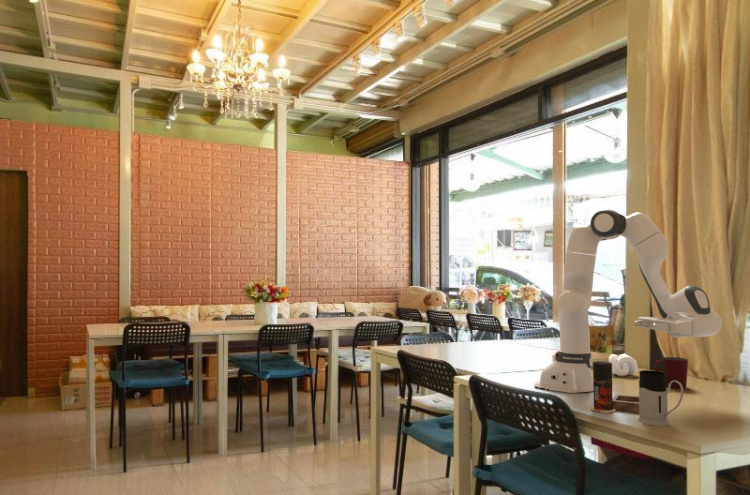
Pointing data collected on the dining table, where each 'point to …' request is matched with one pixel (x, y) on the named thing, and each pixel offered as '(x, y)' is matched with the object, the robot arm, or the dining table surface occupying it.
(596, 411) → the cork coaster
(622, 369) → the white lumpy blob
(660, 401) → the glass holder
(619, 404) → the holder frame
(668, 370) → the mug
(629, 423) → the dining table surface
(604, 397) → the deodorant
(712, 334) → the robot arm
